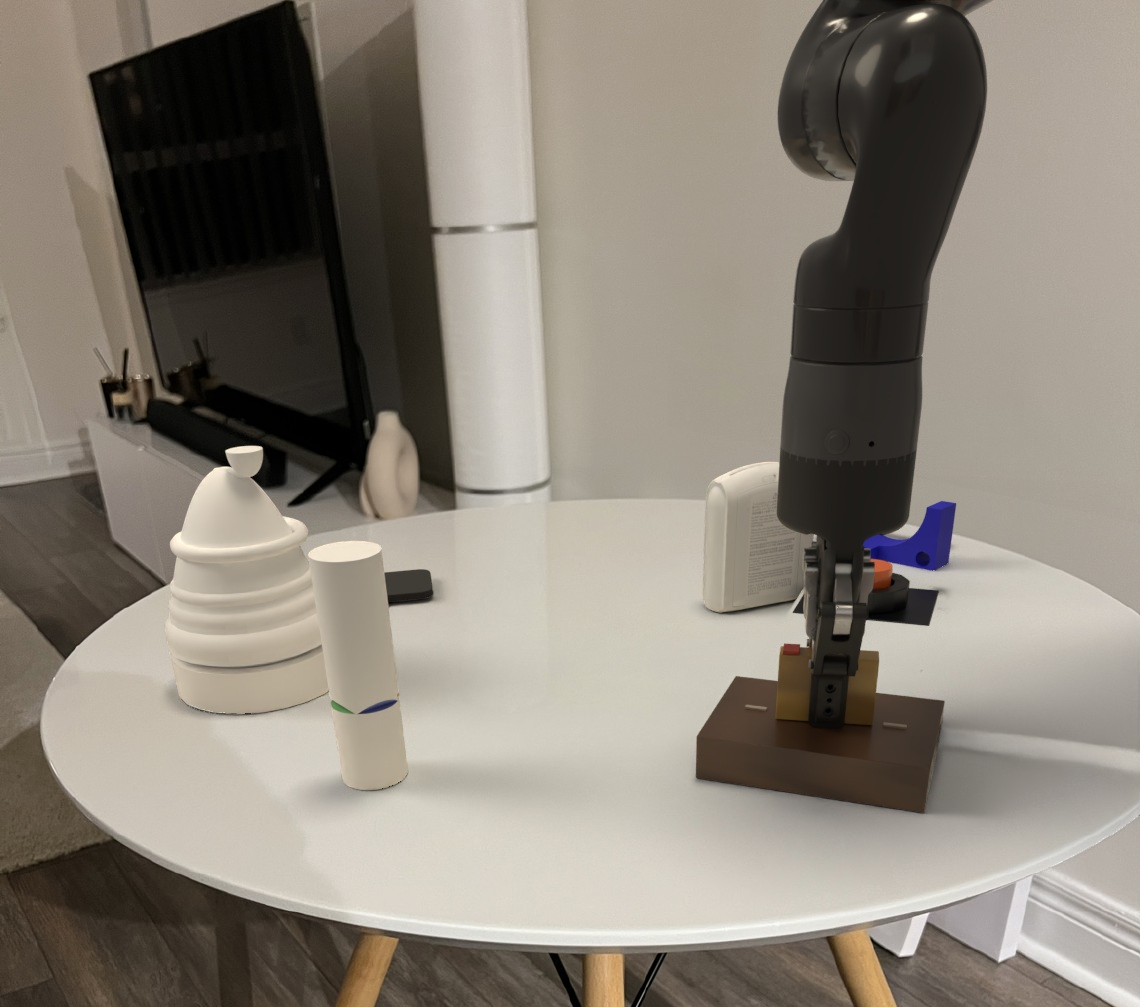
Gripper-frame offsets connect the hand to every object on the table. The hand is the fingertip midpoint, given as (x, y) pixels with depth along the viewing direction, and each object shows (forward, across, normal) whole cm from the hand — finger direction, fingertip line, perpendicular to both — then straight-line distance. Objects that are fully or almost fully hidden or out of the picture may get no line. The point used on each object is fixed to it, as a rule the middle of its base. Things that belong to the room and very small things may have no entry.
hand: (824, 716), depth 68 cm
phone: (+3, +30, +42) cm, 52 cm away
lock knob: (0, 0, 0) cm, 0 cm away
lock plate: (+3, 0, 0) cm, 3 cm away
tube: (+3, -5, +29) cm, 29 cm away
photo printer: (+3, +31, +4) cm, 31 cm away
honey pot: (+3, +10, +43) cm, 44 cm away
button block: (+3, +26, -5) cm, 27 cm away
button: (0, +27, -5) cm, 27 cm away
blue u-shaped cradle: (+4, +44, -8) cm, 45 cm away
